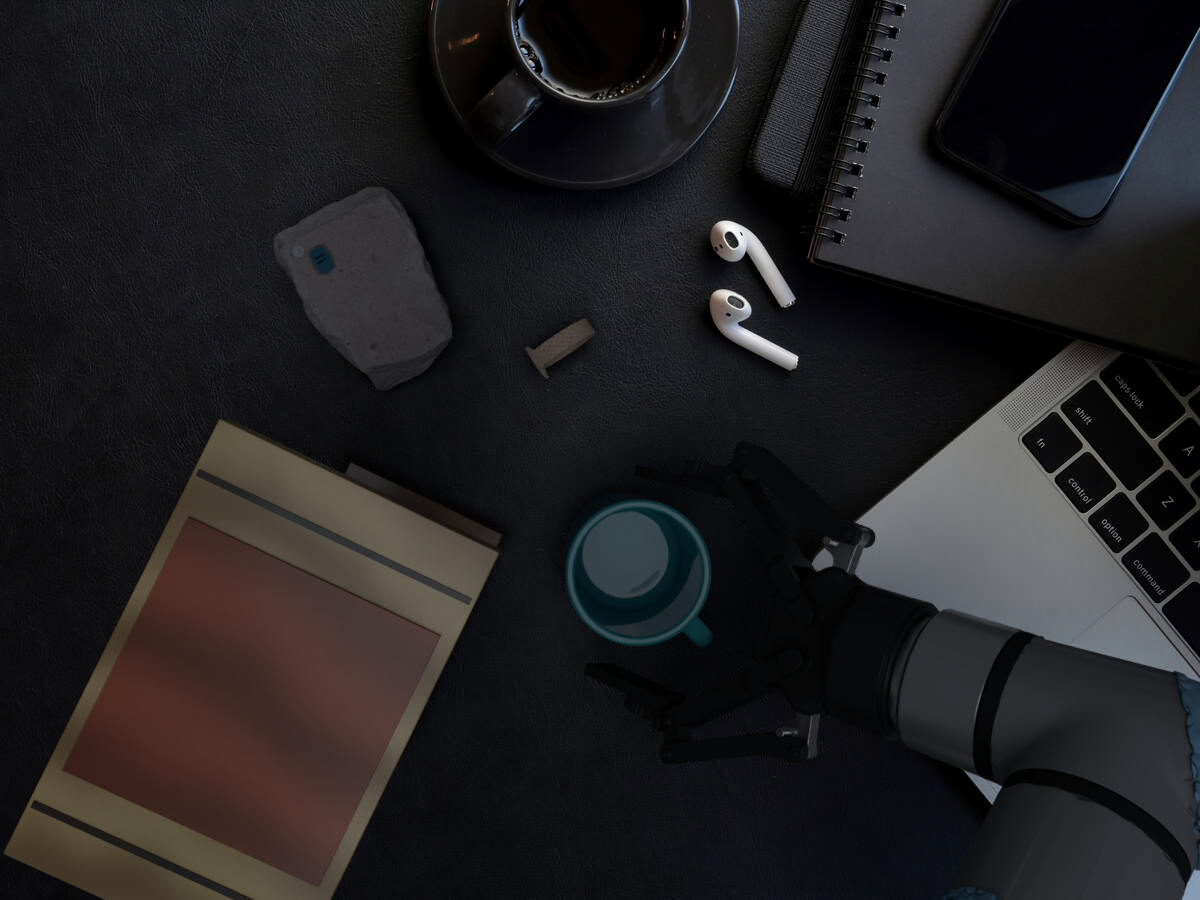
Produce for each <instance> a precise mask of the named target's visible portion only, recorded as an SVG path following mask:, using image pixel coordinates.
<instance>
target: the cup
mask: <svg viewBox="0 0 1200 900" xmlns="http://www.w3.org/2000/svg"><path fill="white" fill-rule="evenodd" d="M562 552H563V553H562V558H563V560H562V563H563V571H564V580H565V581H564V582H565V588H566V591H567V596H568V599H569V601H570V603H571V605H572V607H573V609H574V611H575V613H576V614H577V616H578V617H579V618H580V620H581V621H582V622H583V623H584V624H585V625H586V626H587V628H589V629H590V630H591V631H593V632H594V633H595V634H597V635H599V636H600V637H601V638H603V639H605V640H607V641H610V642H613V643H616V644H619V645H623V646H629V647H647V646H653V645H657V644H661V643H664V642H665V641H668V640H670V639H672V638H675V637H676V636H678V635H679V634H681V633H683V634H684V635H685V636H686V637H687V638H688V639H689V640H690V641H691V642H692V643H693V644H694V645H696V646H697V647H699V648H705V647H707V646H709V645H710V644H711V643H712V642H713V640H714V637H715V635H714V634H715V633H714V631H713V630H712V629H711V628H710V626H708V624H706V622H704V620H703V619H702V618H701V617H700V616H699V614H700V613H701V611H702V609H703V608H704V606H705V603H706V601H707V598H708V595H709V592H710V589H711V582H712V562H711V557H710V553H709V548H708V546H707V544H706V541H705V539H704V537H703V536H702V534H701V532H700V531H699V530H698V528H697V527H696V525H695V524H694V523H693V522H692V521H691V520H690V519H689V518H688V517H687V516H686V515H684V514H683V513H682V512H680V511H679V510H677V509H676V508H674V507H672V506H671V505H668V504H666V503H663V502H661V501H659V500H657V499H655V498H652V497H650V496H647V495H645V494H640V493H636V492H616V493H611V494H607V495H604V496H602V497H598V498H597V499H595V500H593V501H592V502H590V503H589V504H587V505H586V506H585V507H584V508H582V510H580V511H579V512H578V514H577V515H576V517H574V519H573V521H572V522H571V524H570V526H569V527H568V530H567V532H566V536H565V539H564V543H563V549H562Z"/></svg>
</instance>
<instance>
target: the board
mask: <svg viewBox="0 0 1200 900" xmlns="http://www.w3.org/2000/svg"><path fill="white" fill-rule="evenodd" d="M501 552H502V549H501V548H500V547H498V546H497V547H496V546H494V545H492V544H489V543H487V542H485V541H483V540H481V539H479V538H477V537H475V536H473V535H471V534H469V533H466V532H464V531H462V530H460V529H458V528H456V527H454V526H452V525H450V524H448V523H446V522H443V521H441V520H439V519H437V518H435V517H433V516H431V515H429V514H427V513H425V512H423V511H421V510H418V509H416V508H414V507H412V506H410V505H408V504H406V503H404V502H402V501H400V500H398V499H395V498H393V497H391V496H389V495H387V494H385V493H383V492H381V491H379V490H377V489H375V488H372V487H370V486H368V485H366V484H364V483H362V482H360V481H358V480H356V479H354V478H352V477H349V476H347V475H345V473H343V472H342V471H339V470H337V469H334V468H333V467H330V466H329V465H326V464H324V463H322V462H321V461H318V460H316V459H314V458H312V457H310V456H308V455H306V454H304V453H301V452H300V451H298V450H295V449H293V448H291V447H288V446H287V445H286V444H285V445H284V444H283V443H280V442H279V441H277V440H274V439H272V438H270V437H269V436H266V435H264V434H262V433H259V432H258V431H255V430H254V429H251V428H249V427H247V426H245V425H243V424H241V423H238V422H236V421H235V420H232V419H225V418H224V419H222V418H219V419H218V421H217V423H216V425H215V427H214V429H213V431H212V433H211V435H210V437H209V439H208V441H207V443H206V445H205V447H204V449H203V450H202V453H201V455H200V457H199V459H198V461H197V463H196V465H195V467H194V469H193V471H192V473H191V474H190V477H189V479H188V481H187V483H186V485H185V487H184V489H183V491H182V493H181V496H180V497H179V499H178V501H177V503H176V505H175V507H174V509H173V511H172V513H171V515H170V517H169V519H168V521H167V523H166V525H165V527H164V529H163V531H162V534H161V535H160V537H159V539H158V542H157V544H156V545H155V548H154V550H153V551H152V554H151V555H150V557H149V560H148V561H147V563H146V565H145V567H144V570H143V572H142V574H141V576H140V577H139V580H138V582H137V584H136V585H135V588H134V590H133V591H132V594H131V596H130V598H129V600H128V602H127V603H126V605H125V608H124V610H123V612H122V614H121V616H120V618H119V620H118V622H117V623H116V626H115V628H114V630H113V632H112V634H111V635H110V638H109V640H108V642H107V644H106V646H105V648H104V650H103V652H102V654H101V656H100V658H99V659H98V662H97V664H96V666H95V667H94V670H93V671H92V674H91V676H90V678H89V680H88V682H87V684H86V686H85V688H84V690H83V692H82V694H81V696H80V698H79V700H78V703H77V704H76V705H75V708H74V710H73V712H72V714H71V716H70V718H69V720H68V722H67V724H66V726H65V728H64V730H63V732H62V734H61V737H60V739H58V743H57V744H56V746H55V748H54V751H53V752H52V754H51V756H50V759H49V761H48V762H47V764H46V767H45V768H44V770H43V772H42V775H41V777H40V779H39V781H38V782H37V784H36V787H35V788H34V791H33V793H32V794H31V797H30V798H29V801H28V803H27V805H26V806H25V809H24V810H23V813H22V815H21V817H20V819H19V821H18V823H17V825H16V827H15V828H14V831H13V833H12V835H11V837H10V838H9V840H8V842H7V846H6V847H5V848H4V851H3V855H5V856H8V857H9V858H12V859H14V860H16V861H18V862H21V863H23V864H24V865H27V866H29V867H31V868H34V869H35V870H38V871H40V872H42V873H45V874H47V875H49V876H52V877H53V878H56V879H58V880H60V881H63V882H65V883H67V884H69V885H71V886H74V887H76V888H78V889H80V890H82V891H84V892H86V893H89V894H91V895H93V896H96V897H98V898H100V899H103V900H332V899H333V897H334V895H335V893H336V892H337V889H338V887H339V885H340V883H341V882H342V881H341V880H342V878H343V876H344V874H345V872H346V870H347V868H348V866H349V864H350V862H351V860H352V858H353V856H354V854H355V852H356V850H357V848H358V846H359V843H361V839H362V837H363V835H364V834H365V831H366V829H367V826H368V825H369V823H370V821H371V819H372V817H373V815H374V813H375V812H376V809H377V806H378V805H379V803H380V800H381V798H382V797H383V794H384V792H385V790H386V788H387V786H388V784H389V782H390V780H391V778H392V776H393V774H394V772H395V769H396V768H397V765H398V763H399V762H400V760H401V757H402V755H403V753H404V751H405V749H406V747H407V745H408V743H409V741H410V739H411V737H412V735H413V734H414V733H413V732H414V731H415V728H416V727H417V725H418V723H419V720H420V718H421V716H422V714H423V713H424V710H425V708H426V706H427V704H428V702H429V701H430V697H431V696H432V694H433V693H434V690H435V687H436V685H437V683H438V681H439V679H440V677H441V676H442V673H443V672H444V669H445V667H446V665H447V663H448V661H449V659H450V656H451V654H452V653H453V650H454V649H455V646H456V644H457V642H458V641H459V638H460V636H461V634H462V632H463V630H464V628H465V626H466V623H467V622H468V620H469V618H470V615H471V614H472V611H473V609H474V607H475V605H476V603H477V601H478V599H479V597H480V595H481V593H482V591H483V589H484V587H485V585H486V583H487V581H488V579H489V577H490V574H491V572H492V570H493V568H494V567H495V564H496V562H497V560H498V558H499V555H500V553H501Z"/></svg>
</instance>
